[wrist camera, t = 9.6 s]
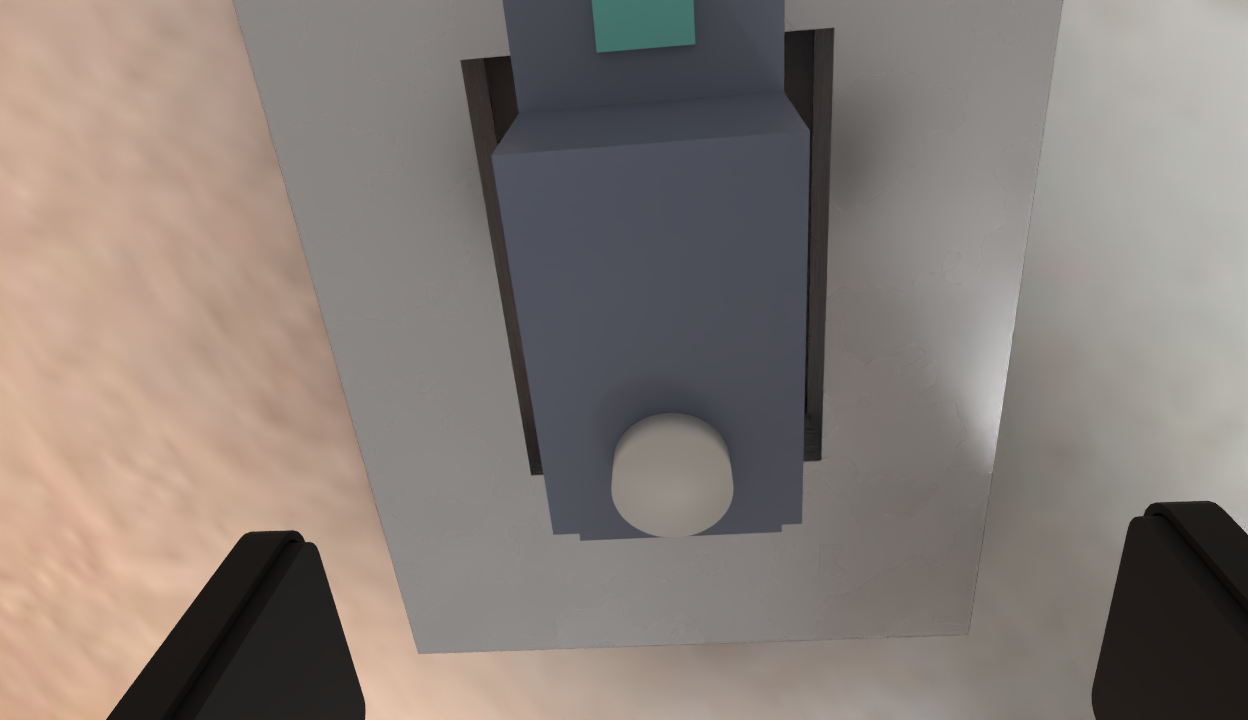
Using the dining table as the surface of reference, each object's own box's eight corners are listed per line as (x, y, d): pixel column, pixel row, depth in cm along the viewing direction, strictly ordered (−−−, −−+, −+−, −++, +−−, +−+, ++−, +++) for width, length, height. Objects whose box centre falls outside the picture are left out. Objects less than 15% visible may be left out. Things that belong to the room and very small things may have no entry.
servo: (764, -81, 15) (825, -69, 10) (767, 458, 21) (806, 657, 15) (520, -58, 16) (445, -33, 10) (589, 467, 21) (565, 665, 16)
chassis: (1064, -383, 13) (1135, -433, 11) (943, 578, 23) (971, 641, 21) (209, -280, 14) (136, -311, 12) (436, 598, 24) (415, 661, 22)
